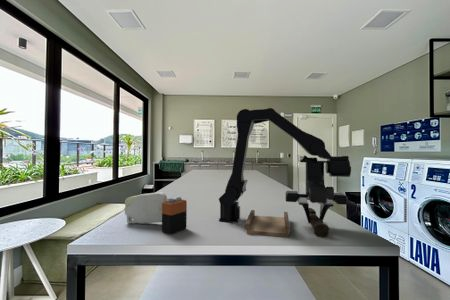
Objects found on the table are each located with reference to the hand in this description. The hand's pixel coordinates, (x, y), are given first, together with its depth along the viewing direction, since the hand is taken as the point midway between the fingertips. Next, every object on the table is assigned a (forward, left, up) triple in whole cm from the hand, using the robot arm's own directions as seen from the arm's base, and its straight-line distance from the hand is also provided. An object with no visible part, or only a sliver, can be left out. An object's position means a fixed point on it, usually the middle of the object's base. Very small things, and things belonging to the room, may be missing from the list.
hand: (314, 223), depth 75 cm
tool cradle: (-15, -4, -1) cm, 16 cm away
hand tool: (-1, 0, -1) cm, 2 cm away
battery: (-43, -14, -1) cm, 46 cm away
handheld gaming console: (-55, -11, -1) cm, 56 cm away
